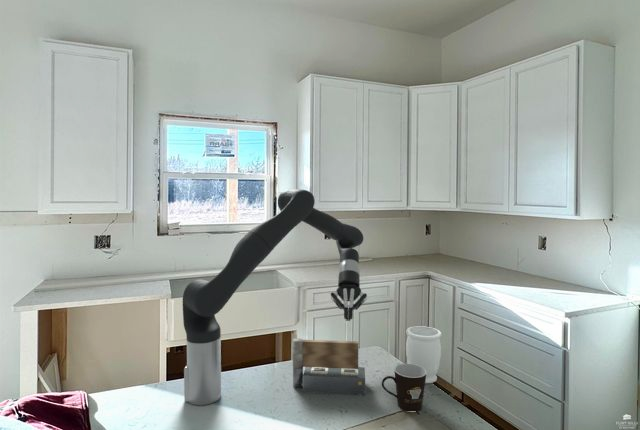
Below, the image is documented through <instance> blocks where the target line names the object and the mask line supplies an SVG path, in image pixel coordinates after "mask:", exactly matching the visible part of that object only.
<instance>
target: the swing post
mask: <svg viewBox="0 0 640 430" xmlns="http://www.w3.org/2000/svg"><path fill="white" fill-rule="evenodd" d="M303 374H304V367H301V368H295V367H293V366H292V387H293V388H295V389H301V388H302V389H303Z"/></svg>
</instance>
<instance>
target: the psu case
mask: <svg viewBox="0 0 640 430" xmlns="http://www.w3.org/2000/svg"><path fill="white" fill-rule="evenodd" d="M302 392H303V393H315V394H332V395H333V394H335V395H336V394H337V395H355V396H356V395H357V396H365V395H366V366H365V367H361V366H358V369H343V368H319V367H304V369H303V387H302Z"/></svg>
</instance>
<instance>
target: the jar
mask: <svg viewBox="0 0 640 430" xmlns="http://www.w3.org/2000/svg"><path fill="white" fill-rule="evenodd" d="M405 333H406V335H407V338H406V344H405V351H406V352H405V354H406V360H407V363H408V364H415V365H419V366H421V367H423V368H424V369H425V370H426V371H427V373H426V381H425V384H432V383H435V382H436V381H437V380H438V377H437V372H438V371H439V367H440V361H441V356H442V347H441V346H442V344H441V340H440V338H441V337H442V332H441V331H440V330H439V329H437V328H434V327H431V326H424V325H415V326H414V325H413V326H410V327H408V328H406V331H405ZM428 381H429V382H428Z"/></svg>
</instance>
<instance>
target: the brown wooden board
mask: <svg viewBox="0 0 640 430" xmlns="http://www.w3.org/2000/svg"><path fill="white" fill-rule="evenodd" d="M293 367H295V368H301V367H303V368H305V367H319V368H343V369H358V367H359V341H357V340H356V341H351V340H329V339H327V340H323V339H304V338H303V339H302V338H293V339H292V368H293Z"/></svg>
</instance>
